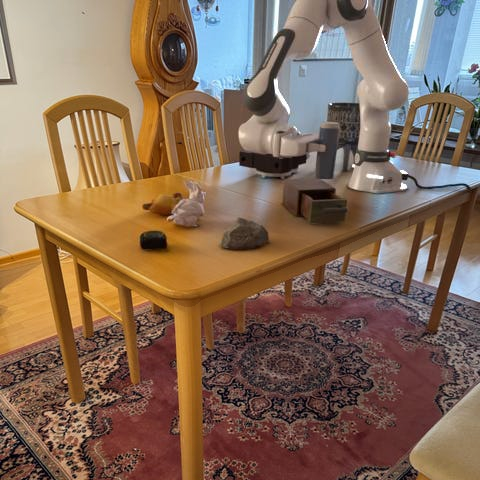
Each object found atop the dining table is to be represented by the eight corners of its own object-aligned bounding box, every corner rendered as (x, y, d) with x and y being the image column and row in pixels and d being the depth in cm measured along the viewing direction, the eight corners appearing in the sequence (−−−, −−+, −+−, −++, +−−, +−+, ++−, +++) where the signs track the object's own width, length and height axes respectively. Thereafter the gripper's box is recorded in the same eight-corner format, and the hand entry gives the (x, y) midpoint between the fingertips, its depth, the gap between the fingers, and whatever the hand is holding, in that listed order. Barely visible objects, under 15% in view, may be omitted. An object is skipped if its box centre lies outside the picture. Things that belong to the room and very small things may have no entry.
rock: (254, 234, 128) (255, 211, 124) (276, 243, 122) (277, 220, 119) (217, 245, 120) (217, 221, 117) (238, 255, 115) (239, 231, 111)
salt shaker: (324, 174, 138) (330, 121, 131) (337, 178, 134) (344, 123, 127) (310, 176, 135) (316, 122, 128) (323, 180, 132) (330, 124, 124)
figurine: (213, 220, 138) (213, 178, 132) (181, 233, 128) (179, 188, 121) (193, 215, 142) (192, 174, 136) (160, 228, 132) (157, 183, 125)
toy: (137, 206, 138) (152, 192, 151) (146, 225, 141) (160, 210, 154) (170, 195, 135) (182, 182, 148) (178, 215, 138) (190, 200, 150)
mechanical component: (240, 121, 182) (283, 115, 202) (239, 174, 193) (280, 164, 212) (283, 126, 170) (325, 120, 190) (280, 183, 181) (320, 172, 200)
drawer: (351, 227, 133) (355, 204, 130) (316, 229, 131) (318, 206, 127) (326, 209, 149) (329, 188, 145) (294, 210, 146) (296, 189, 143)
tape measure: (140, 253, 115) (139, 239, 113) (141, 243, 121) (140, 230, 119) (167, 252, 116) (166, 238, 114) (167, 242, 122) (166, 229, 120)
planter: (314, 167, 208) (320, 104, 195) (332, 161, 222) (339, 101, 209) (354, 174, 199) (364, 107, 185) (370, 166, 213) (380, 104, 199)
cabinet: (332, 214, 146) (336, 188, 142) (296, 216, 144) (298, 190, 139) (315, 202, 158) (318, 177, 154) (282, 204, 156) (283, 179, 151)
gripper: (300, 148, 146) (341, 153, 139) (270, 157, 130) (315, 163, 124) (302, 126, 142) (344, 131, 136) (272, 134, 127) (317, 139, 121)
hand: (330, 146), depth 130 cm, fingers closed on salt shaker, 5 cm apart
